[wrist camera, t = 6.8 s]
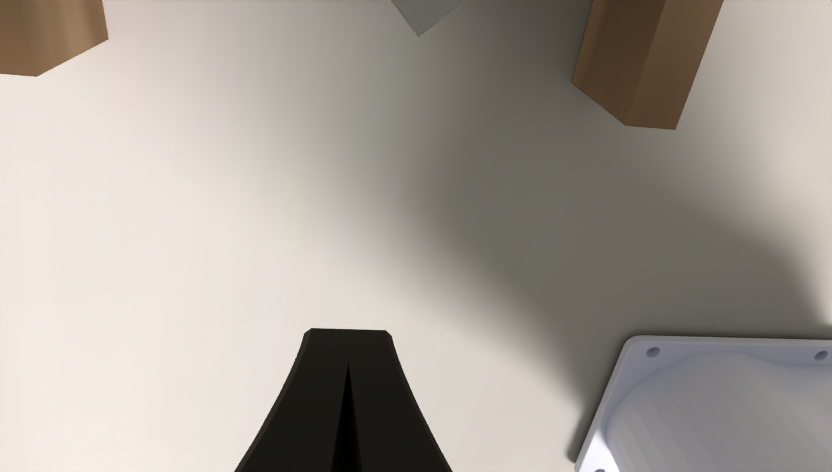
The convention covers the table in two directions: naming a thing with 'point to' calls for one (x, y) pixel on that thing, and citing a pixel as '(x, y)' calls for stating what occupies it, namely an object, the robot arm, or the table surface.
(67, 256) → the table surface
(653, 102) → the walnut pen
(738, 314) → the table surface
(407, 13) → the dice cube
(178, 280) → the table surface
